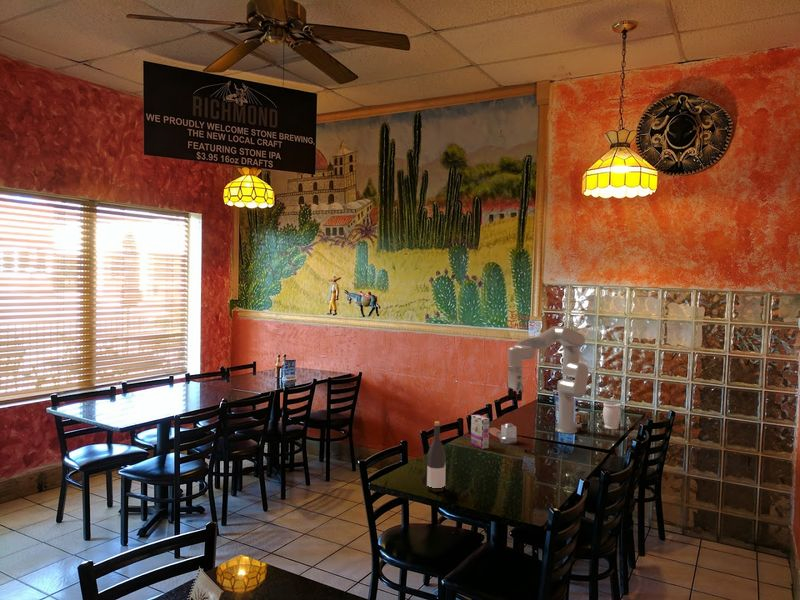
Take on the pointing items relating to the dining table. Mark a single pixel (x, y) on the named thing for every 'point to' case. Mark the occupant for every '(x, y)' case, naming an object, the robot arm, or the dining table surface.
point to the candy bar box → (480, 431)
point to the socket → (508, 431)
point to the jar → (611, 415)
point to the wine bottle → (436, 461)
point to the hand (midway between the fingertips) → (514, 398)
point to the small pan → (497, 433)
